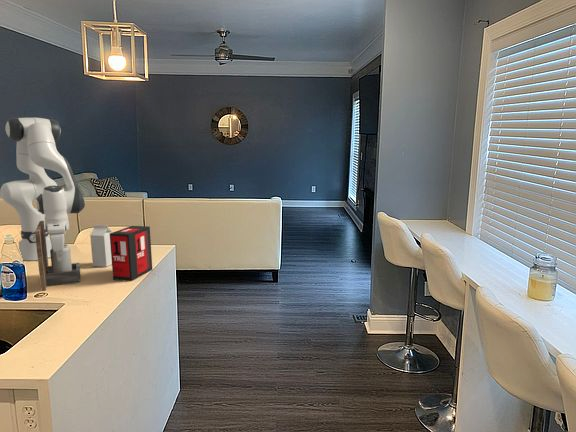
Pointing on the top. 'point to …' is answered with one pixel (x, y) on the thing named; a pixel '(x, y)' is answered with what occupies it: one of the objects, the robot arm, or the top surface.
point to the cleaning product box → (131, 252)
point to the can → (61, 265)
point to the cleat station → (46, 271)
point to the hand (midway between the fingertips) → (60, 257)
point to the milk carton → (101, 246)
